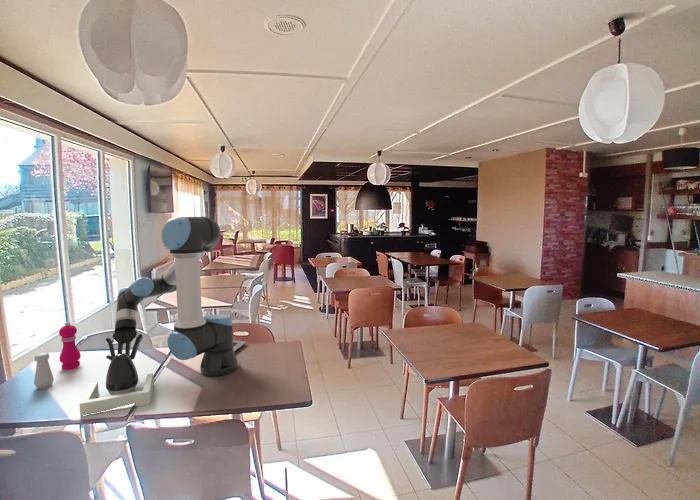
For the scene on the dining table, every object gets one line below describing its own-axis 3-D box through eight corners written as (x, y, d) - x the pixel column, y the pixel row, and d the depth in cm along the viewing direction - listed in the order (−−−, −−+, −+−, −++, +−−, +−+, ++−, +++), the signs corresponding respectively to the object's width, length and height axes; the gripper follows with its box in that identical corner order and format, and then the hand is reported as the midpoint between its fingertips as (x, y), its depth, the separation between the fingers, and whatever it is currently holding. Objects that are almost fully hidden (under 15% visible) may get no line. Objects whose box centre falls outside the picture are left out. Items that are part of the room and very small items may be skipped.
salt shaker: (32, 391, 136) (29, 358, 135) (37, 385, 141) (33, 352, 140) (52, 388, 139) (49, 355, 137) (56, 381, 144) (53, 350, 142)
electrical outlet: (233, 355, 171) (233, 350, 171) (213, 354, 173) (213, 349, 173) (246, 345, 184) (246, 341, 184) (227, 344, 186) (227, 339, 186)
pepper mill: (56, 369, 155) (52, 323, 153) (74, 362, 162) (70, 318, 160) (67, 372, 153) (63, 325, 150) (85, 365, 159) (81, 320, 157)
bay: (92, 394, 134) (91, 382, 134) (153, 384, 142) (153, 373, 142) (80, 416, 120) (79, 403, 119) (149, 404, 128) (149, 391, 127)
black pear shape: (118, 385, 140) (116, 347, 138) (145, 386, 140) (142, 348, 137) (99, 399, 130) (95, 359, 128) (127, 401, 130) (124, 361, 127)
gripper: (145, 324, 157) (142, 378, 144) (109, 328, 152) (103, 384, 139) (142, 316, 152) (140, 370, 139) (105, 319, 147) (99, 376, 134)
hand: (121, 377), depth 139 cm, fingers closed
